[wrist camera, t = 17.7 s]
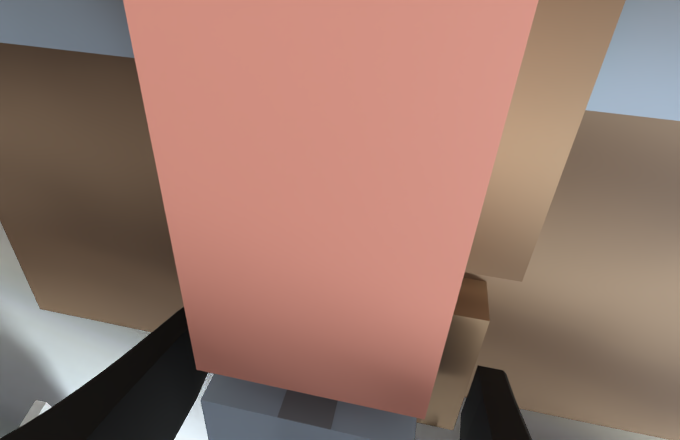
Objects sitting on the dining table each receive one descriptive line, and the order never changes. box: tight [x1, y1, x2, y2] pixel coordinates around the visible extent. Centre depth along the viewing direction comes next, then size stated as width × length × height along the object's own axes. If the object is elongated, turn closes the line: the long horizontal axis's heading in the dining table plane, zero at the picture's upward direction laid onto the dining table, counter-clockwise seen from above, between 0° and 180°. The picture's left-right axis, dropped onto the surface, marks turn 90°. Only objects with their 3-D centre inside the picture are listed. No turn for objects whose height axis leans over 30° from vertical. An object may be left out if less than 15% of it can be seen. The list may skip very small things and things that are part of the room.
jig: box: [0, 0, 680, 440], centre depth 10 cm, size 20×24×2 cm
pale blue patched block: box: [201, 374, 417, 440], centre depth 12 cm, size 4×4×6 cm
